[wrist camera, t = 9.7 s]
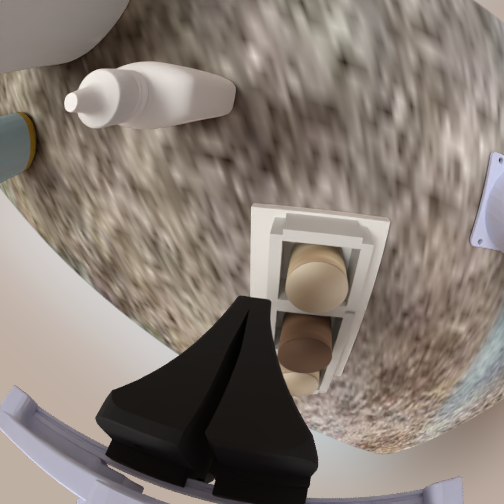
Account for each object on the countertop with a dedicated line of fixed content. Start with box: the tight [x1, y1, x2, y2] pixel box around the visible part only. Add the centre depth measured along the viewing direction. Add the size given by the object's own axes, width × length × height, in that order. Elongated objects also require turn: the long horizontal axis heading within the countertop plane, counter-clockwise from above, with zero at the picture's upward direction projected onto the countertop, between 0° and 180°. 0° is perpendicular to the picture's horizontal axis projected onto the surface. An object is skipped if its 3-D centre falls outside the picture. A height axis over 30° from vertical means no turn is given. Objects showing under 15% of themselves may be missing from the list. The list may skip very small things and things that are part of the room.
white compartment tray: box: [250, 203, 390, 394], centre depth 23 cm, size 10×18×4 cm, turn 0°
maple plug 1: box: [285, 242, 348, 313], centre depth 19 cm, size 4×4×4 cm
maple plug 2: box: [279, 363, 319, 396], centre depth 24 cm, size 4×4×4 cm
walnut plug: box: [277, 312, 332, 373], centre depth 21 cm, size 4×4×4 cm
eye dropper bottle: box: [64, 61, 236, 129], centre depth 12 cm, size 4×6×12 cm
